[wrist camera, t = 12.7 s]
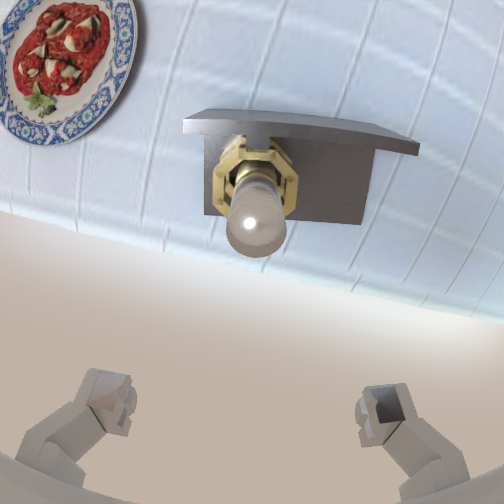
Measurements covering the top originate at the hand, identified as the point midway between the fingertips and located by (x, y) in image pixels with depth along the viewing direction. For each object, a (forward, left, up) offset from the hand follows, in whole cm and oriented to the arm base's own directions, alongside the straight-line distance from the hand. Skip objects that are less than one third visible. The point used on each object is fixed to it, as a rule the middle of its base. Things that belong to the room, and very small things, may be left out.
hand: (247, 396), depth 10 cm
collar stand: (-4, 0, -31) cm, 31 cm away
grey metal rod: (0, 0, -30) cm, 30 cm away
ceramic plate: (+27, -16, -31) cm, 44 cm away
